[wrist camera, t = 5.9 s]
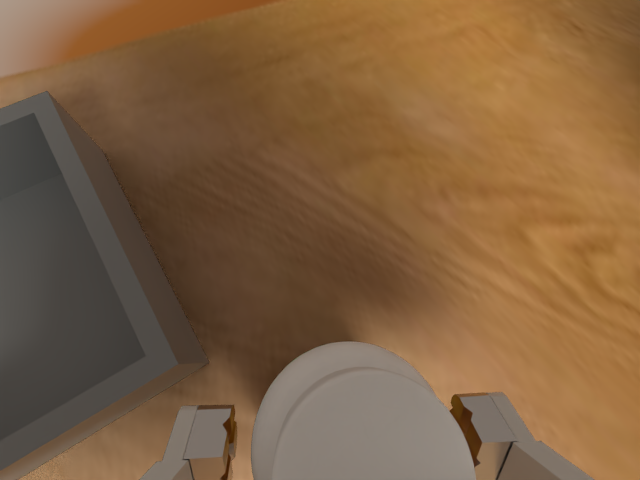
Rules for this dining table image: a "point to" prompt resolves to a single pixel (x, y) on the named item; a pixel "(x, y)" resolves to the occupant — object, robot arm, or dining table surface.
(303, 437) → the supplement bottle
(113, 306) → the box
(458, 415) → the robot arm
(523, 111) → the dining table surface
